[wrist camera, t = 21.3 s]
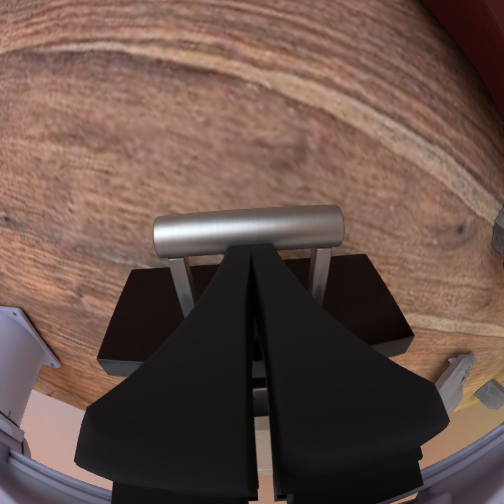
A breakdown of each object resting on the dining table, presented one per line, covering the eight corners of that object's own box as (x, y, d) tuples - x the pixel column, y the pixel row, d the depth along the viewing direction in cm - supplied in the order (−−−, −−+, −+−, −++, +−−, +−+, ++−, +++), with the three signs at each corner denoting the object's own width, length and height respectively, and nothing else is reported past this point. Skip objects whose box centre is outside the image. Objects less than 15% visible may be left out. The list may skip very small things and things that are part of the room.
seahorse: (488, 369, 29) (485, 358, 19) (446, 423, 30) (418, 441, 20) (469, 354, 33) (454, 335, 23) (429, 406, 34) (392, 415, 24)
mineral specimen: (488, 389, 40) (495, 415, 34) (470, 391, 41) (477, 419, 34) (507, 372, 36) (516, 398, 30) (491, 372, 37) (500, 402, 30)
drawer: (108, 193, 11) (42, 270, 6) (379, 175, 11) (456, 242, 7) (188, 397, 22) (184, 455, 17) (326, 387, 22) (339, 443, 17)
